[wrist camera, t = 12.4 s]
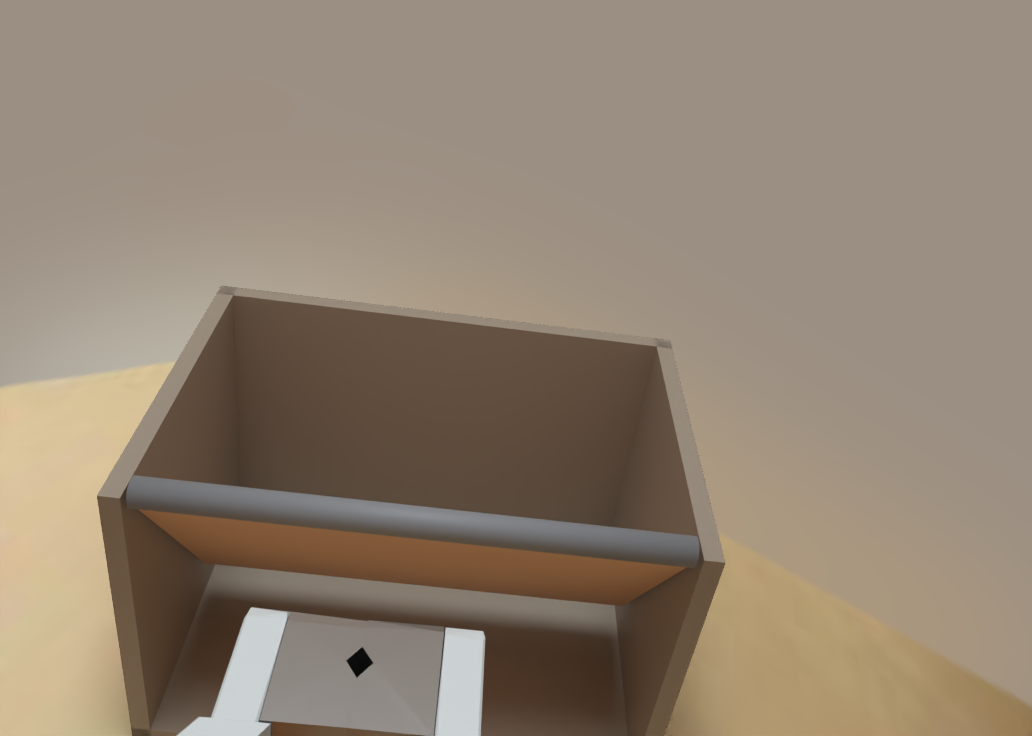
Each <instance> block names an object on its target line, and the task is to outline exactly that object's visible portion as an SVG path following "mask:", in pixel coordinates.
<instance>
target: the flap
mask: <svg viewBox="0 0 1032 736" xmlns="http://www.w3.org/2000/svg"><path fill="white" fill-rule="evenodd" d="M126 504H127V507H128V508H129V509H138V510H139V511H141V512H142V513H143V514H144V515H146V516H147V517H148V518H149V519H151V520H152V521H153V522H154V523H156V524H157V525H158V526H159V527H160V528H162V529H163V530H164V531H165V532H167V533H168V534H169V535H170V536H172V537H173V538H174V539H175V540H177V541H178V542H179V543H180V544H182V545H183V546H184V547H185V548H187V549H188V550H189V551H190V552H192V553H193V554H194V555H195V556H197V557H198V558H199V559H200V560H201V561H203V562H204V563H206V564H216V565H226V566H236V567H245V568H255V569H265V570H275V571H284V572H294V573H304V574H313V575H323V576H333V577H343V578H352V579H362V580H372V581H382V582H391V583H401V584H411V585H421V586H430V587H440V588H450V589H460V590H469V591H479V592H489V593H499V594H508V595H518V596H528V597H538V598H547V599H557V600H567V601H577V602H586V603H596V604H606V605H615V606H623V605H625V604H627V603H628V602H630V601H632V600H633V599H635V598H637V597H638V596H640V595H642V594H643V593H645V592H647V591H648V590H650V589H652V588H653V587H655V586H657V585H658V584H660V583H662V582H663V581H665V580H667V579H668V578H670V577H672V576H673V575H675V574H677V573H678V572H680V571H682V570H683V569H685V568H695V567H696V566H697V563H698V559H699V540H698V537H697V536H692V535H683V534H673V533H664V532H655V531H646V530H636V529H627V528H618V527H609V526H599V525H590V524H581V523H572V522H562V521H553V520H544V519H535V518H525V517H516V516H507V515H498V514H488V513H479V512H470V511H461V510H451V509H442V508H433V507H424V506H414V505H405V504H396V503H387V502H377V501H368V500H359V499H350V498H340V497H331V496H322V495H313V494H303V493H294V492H285V491H276V490H266V489H257V488H248V487H239V486H229V485H220V484H211V483H202V482H192V481H183V480H174V479H165V478H155V477H146V476H137V475H134V476H133V477H132V478H131V480H130V482H129V485H128V488H127V494H126Z"/></svg>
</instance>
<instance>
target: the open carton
mask: <svg viewBox="0 0 1032 736" xmlns="http://www.w3.org/2000/svg"><path fill="white" fill-rule="evenodd" d="M134 475H137V476H146V477H155V478H165V479H174V480H183V481H192V482H202V483H211V484H220V485H229V486H239V487H248V488H257V489H266V490H276V491H285V492H294V493H303V494H313V495H322V496H331V497H340V498H350V499H359V500H368V501H377V502H387V503H396V504H405V505H414V506H424V507H433V508H442V509H451V510H461V511H470V512H479V513H488V514H498V515H507V516H516V517H525V518H535V519H544V520H553V521H562V522H572V523H581V524H590V525H599V526H609V527H618V528H627V529H636V530H646V531H655V532H664V533H673V534H683V535H692V536H697V537H698V540H699V559H698V563H697V566H696V567H695V568H685V569H683V570H682V571H680V572H678V573H677V574H675V575H673V576H672V577H670V578H668V579H667V580H665V581H663V582H662V583H660V584H658V585H657V586H655V587H653V588H652V589H650V590H648V591H647V592H645V593H643V594H642V595H640V596H638V597H637V598H635V599H633V600H632V601H630V602H628V603H627V604H625V605H623V606H615V605H606V604H596V603H586V602H577V601H567V600H557V599H547V598H538V597H528V596H518V595H508V594H499V593H489V592H479V591H469V590H460V589H450V588H440V587H430V586H421V585H411V584H401V583H391V582H382V581H372V580H362V579H352V578H343V577H333V576H323V575H313V574H304V573H294V572H284V571H275V570H265V569H255V568H245V567H236V566H226V565H216V564H206V563H204V562H203V561H201V560H200V559H199V558H198V557H197V556H195V555H194V554H193V553H192V552H190V551H189V550H188V549H187V548H185V547H184V546H183V545H182V544H180V543H179V542H178V541H177V540H175V539H174V538H173V537H172V536H170V535H169V534H168V533H167V532H165V531H164V530H163V529H162V528H160V527H159V526H158V525H157V524H156V523H154V522H153V521H152V520H151V519H149V518H148V517H147V516H146V515H144V514H143V513H142V512H141V511H139V510H138V509H129V508H128V507H127V504H126V494H127V488H128V485H129V482H130V480H131V478H132V477H133V476H134ZM97 499H98V506H99V513H100V519H101V526H102V533H103V540H104V546H105V553H106V560H107V567H108V573H109V580H110V587H111V594H112V600H113V607H114V614H115V621H116V627H117V634H118V641H119V648H120V654H121V661H122V668H123V675H124V681H125V688H126V695H127V702H128V708H129V715H130V722H131V729H132V735H133V736H177V735H178V734H179V733H180V732H181V731H182V730H184V729H185V728H186V727H187V726H188V725H190V724H191V723H192V722H193V721H194V720H195V719H197V718H198V717H211V716H212V713H213V710H214V707H215V704H216V701H217V698H218V695H219V692H220V689H221V686H222V683H223V680H224V677H225V674H226V671H227V668H228V665H229V662H230V659H231V656H232V653H233V650H234V647H235V644H236V641H237V638H238V635H239V632H240V629H241V626H242V623H243V620H244V618H245V616H246V615H247V613H248V611H249V610H250V608H251V607H253V608H262V609H271V610H279V611H288V612H299V613H306V614H314V615H322V616H330V617H338V618H346V619H354V620H362V621H368V620H373V621H385V622H396V623H407V624H419V625H430V626H442V627H444V630H445V628H456V629H466V630H476V631H483V632H484V635H485V655H484V676H483V697H482V718H481V736H664V734H665V731H666V728H667V725H668V722H669V720H670V717H671V714H672V711H673V708H674V706H675V703H676V700H677V697H678V694H679V692H680V689H681V686H682V683H683V680H684V677H685V675H686V672H687V669H688V666H689V663H690V661H691V658H692V655H693V652H694V649H695V647H696V644H697V641H698V638H699V635H700V633H701V630H702V627H703V624H704V621H705V619H706V616H707V613H708V610H709V607H710V604H711V602H712V599H713V596H714V593H715V590H716V588H717V585H718V582H719V579H720V576H721V574H722V571H723V568H724V565H725V559H724V555H723V551H722V547H721V543H720V539H719V535H718V531H717V527H716V523H715V519H714V515H713V511H712V507H711V503H710V499H709V495H708V491H707V487H706V483H705V479H704V475H703V471H702V467H701V463H700V459H699V455H698V451H697V447H696V443H695V439H694V435H693V431H692V427H691V422H690V418H689V414H688V411H687V406H686V402H685V398H684V394H683V390H682V386H681V382H680V379H679V374H678V370H677V366H676V362H675V358H674V354H673V350H672V346H671V342H670V340H664V339H656V338H647V337H639V336H630V335H623V334H614V333H606V332H597V331H589V330H581V329H573V328H565V327H557V326H548V325H540V324H532V323H524V322H516V321H508V320H500V319H491V318H483V317H475V316H467V315H458V314H449V313H442V312H434V311H425V310H417V309H409V308H401V307H393V306H384V305H376V304H368V303H360V302H351V301H343V300H335V299H327V298H319V297H310V296H302V295H293V294H286V293H277V292H269V291H261V290H253V289H244V288H236V287H228V286H221V287H220V289H219V291H218V292H217V294H216V296H215V297H214V299H213V301H212V302H211V304H210V306H209V307H208V309H207V311H206V313H205V314H204V316H203V318H202V319H201V321H200V323H199V324H198V326H197V328H196V329H195V331H194V333H193V335H192V336H191V338H190V340H189V341H188V343H187V345H186V346H185V348H184V350H183V351H182V353H181V355H180V357H179V358H178V360H177V362H176V363H175V365H174V367H173V368H172V370H171V372H170V373H169V375H168V377H167V378H166V380H165V382H164V384H163V385H162V387H161V389H160V390H159V392H158V394H157V395H156V397H155V399H154V400H153V402H152V404H151V405H150V407H149V409H148V411H147V412H146V414H145V416H144V417H143V419H142V421H141V422H140V424H139V426H138V427H137V429H136V431H135V433H134V434H133V436H132V438H131V439H130V441H129V443H128V444H127V446H126V448H125V449H124V451H123V453H122V455H121V456H120V458H119V460H118V461H117V463H116V465H115V466H114V468H113V470H112V471H111V473H110V475H109V476H108V478H107V480H106V482H105V483H104V485H103V487H102V488H101V490H100V492H99V493H98V495H97Z"/></svg>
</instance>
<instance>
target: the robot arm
mask: <svg viewBox="0 0 1032 736" xmlns="http://www.w3.org/2000/svg"><path fill="white" fill-rule="evenodd" d="M484 655H485V635H484V632H483V631H476V630H466V629H456V628H445V630H444V627H442V626H430V625H419V624H407V623H396V622H385V621H373V620H368V621H362V620H354V619H346V618H338V617H330V616H322V615H314V614H306V613H299V612H288V611H279V610H271V609H262V608H253V607H251V608H250V610H249V611H248V613H247V615H246V616H245V618H244V620H243V623H242V626H241V629H240V632H239V635H238V638H237V641H236V644H235V647H234V650H233V653H232V656H231V659H230V662H229V665H228V668H227V671H226V674H225V677H224V680H223V683H222V686H221V689H220V692H219V695H218V698H217V701H216V704H215V707H214V710H213V713H212V716H211V717H198V718H197V719H195V720H194V721H193V722H192V723H191V724H190V725H188V726H187V727H186V728H185V729H184V730H182V731H181V732H180V733H179V734H178V735H177V736H481V718H482V697H483V676H484Z"/></svg>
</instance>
